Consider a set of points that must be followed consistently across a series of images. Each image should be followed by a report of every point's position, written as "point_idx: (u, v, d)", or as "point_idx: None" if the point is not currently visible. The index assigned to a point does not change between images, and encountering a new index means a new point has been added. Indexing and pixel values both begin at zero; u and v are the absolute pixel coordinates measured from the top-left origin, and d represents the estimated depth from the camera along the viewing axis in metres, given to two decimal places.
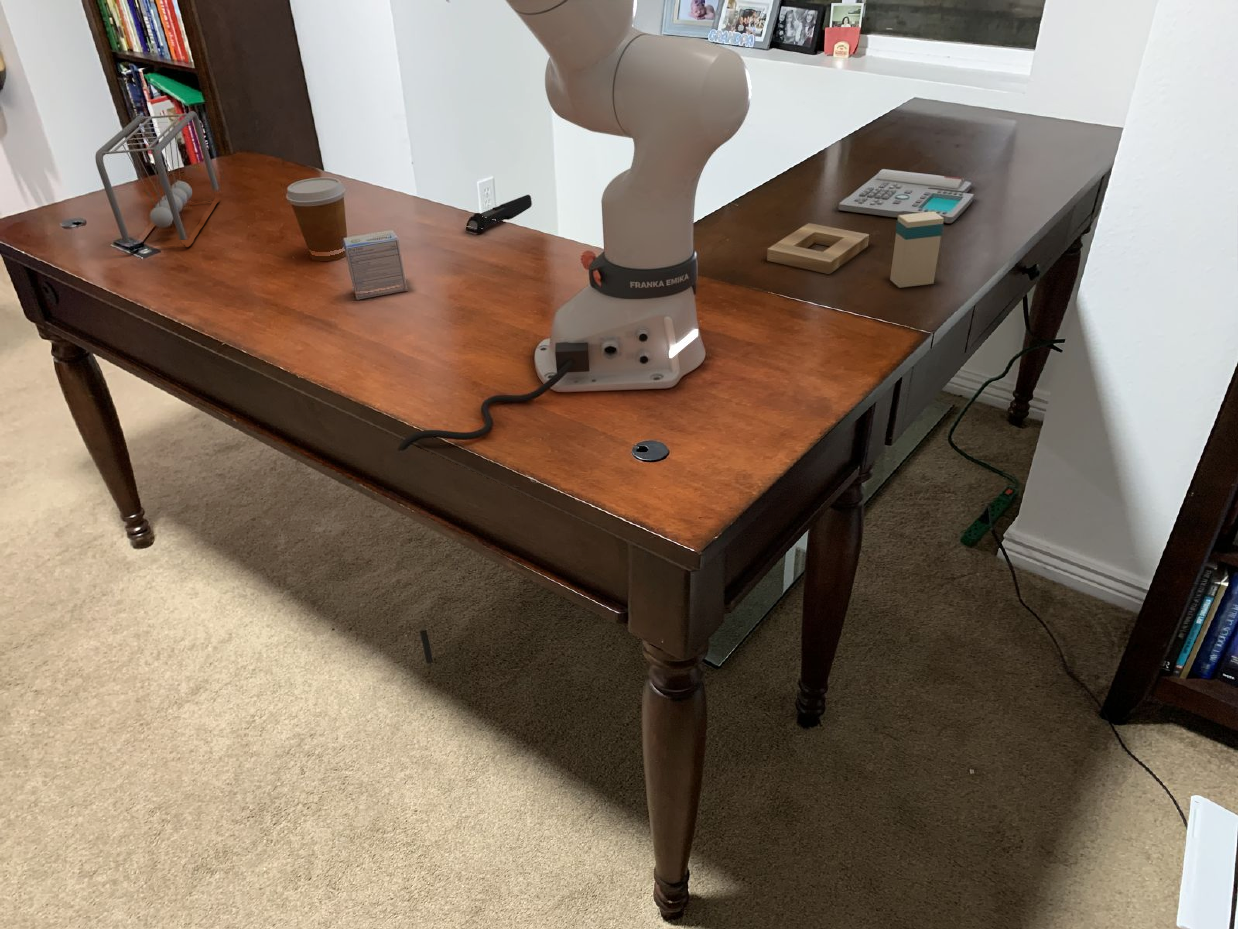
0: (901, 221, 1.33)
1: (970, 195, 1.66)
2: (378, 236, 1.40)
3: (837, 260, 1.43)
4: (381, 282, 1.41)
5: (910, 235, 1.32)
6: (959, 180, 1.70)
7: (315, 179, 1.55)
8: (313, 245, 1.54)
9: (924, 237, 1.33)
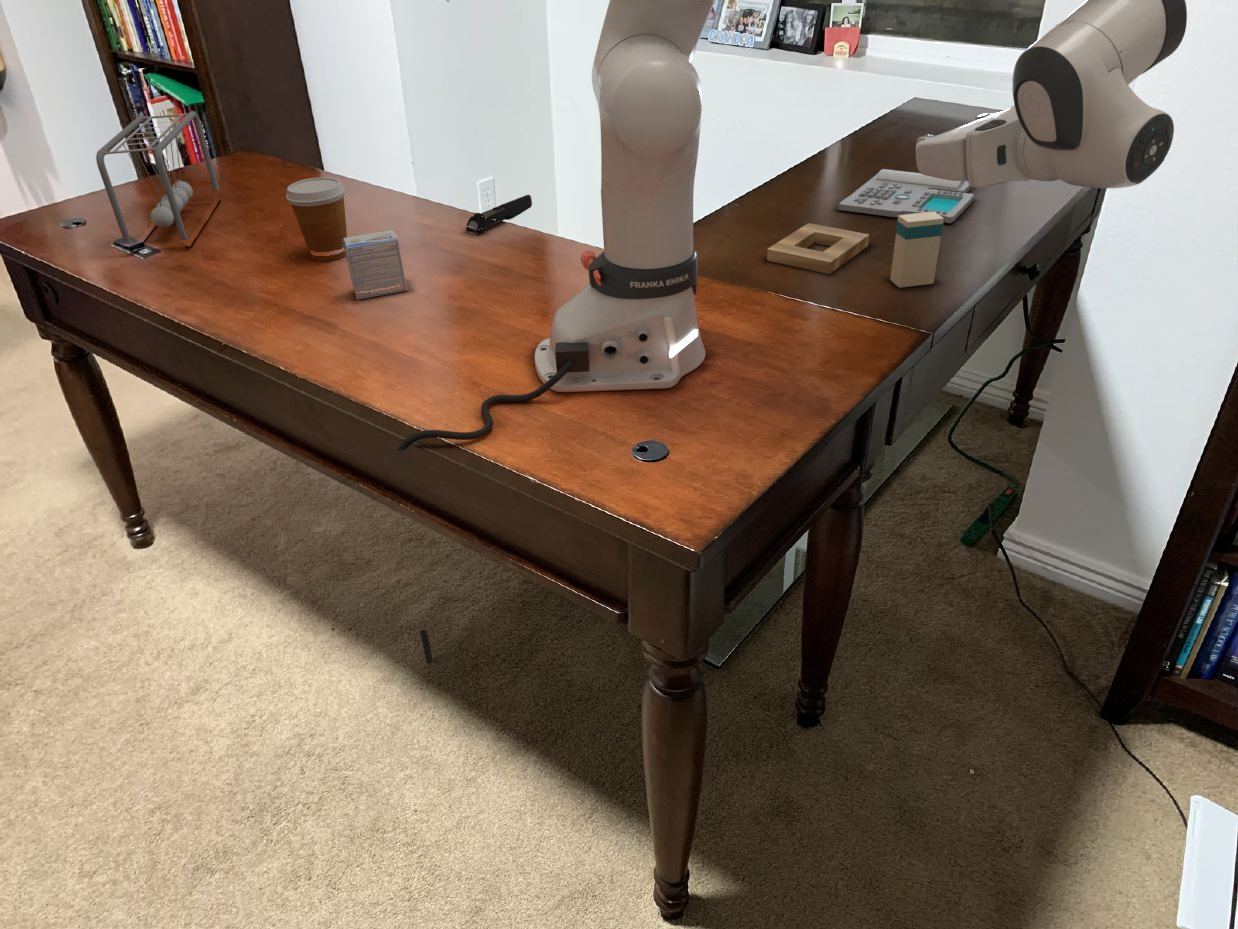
0: (901, 221, 1.33)
1: (970, 195, 1.66)
2: (378, 236, 1.40)
3: (837, 260, 1.43)
4: (381, 282, 1.41)
5: (910, 235, 1.32)
6: None
7: (315, 179, 1.55)
8: (313, 245, 1.54)
9: (924, 237, 1.33)
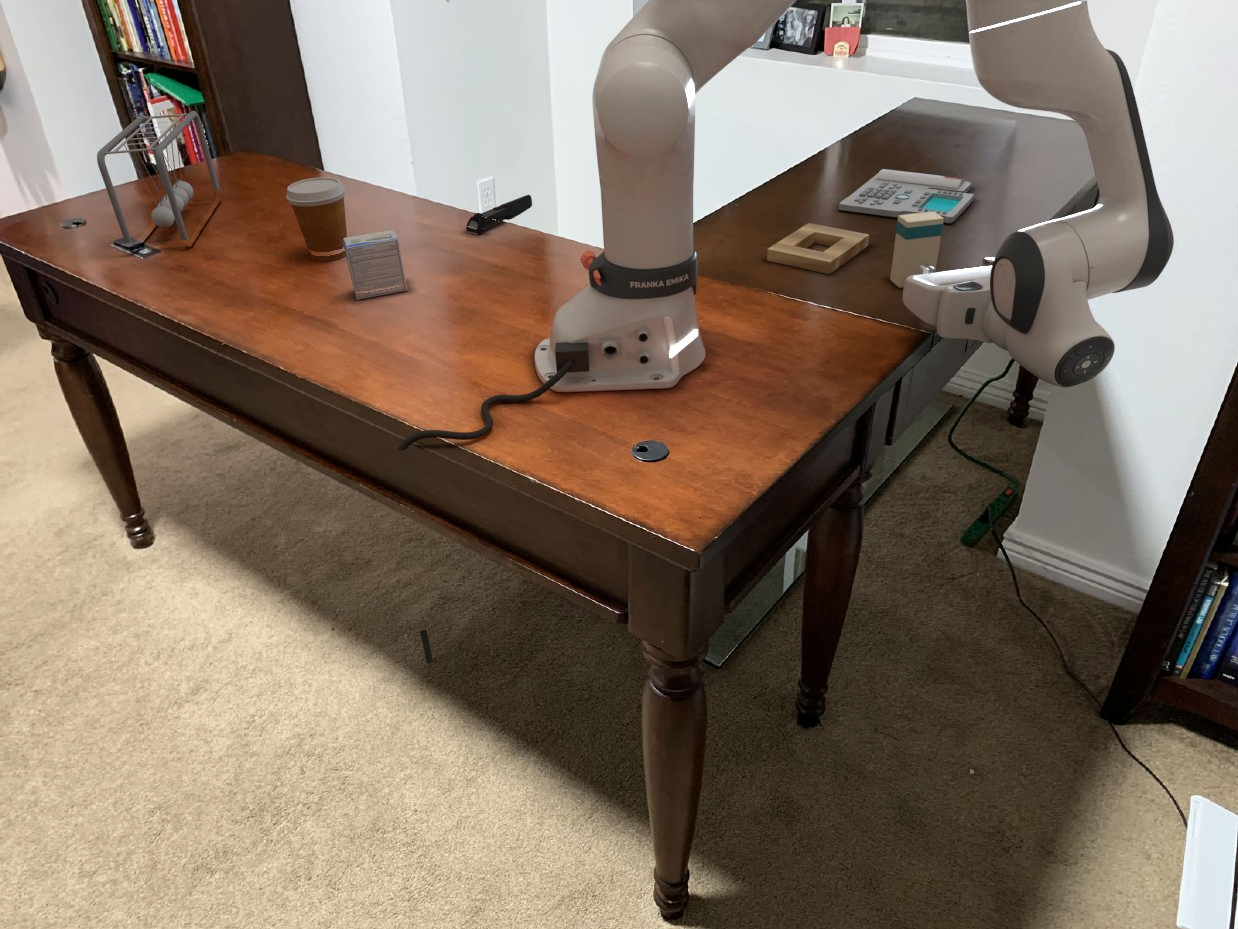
0: (901, 221, 1.33)
1: (970, 195, 1.66)
2: (378, 236, 1.40)
3: (837, 260, 1.43)
4: (381, 282, 1.41)
5: (910, 235, 1.32)
6: (959, 180, 1.70)
7: (315, 179, 1.55)
8: (313, 245, 1.54)
9: (924, 237, 1.33)
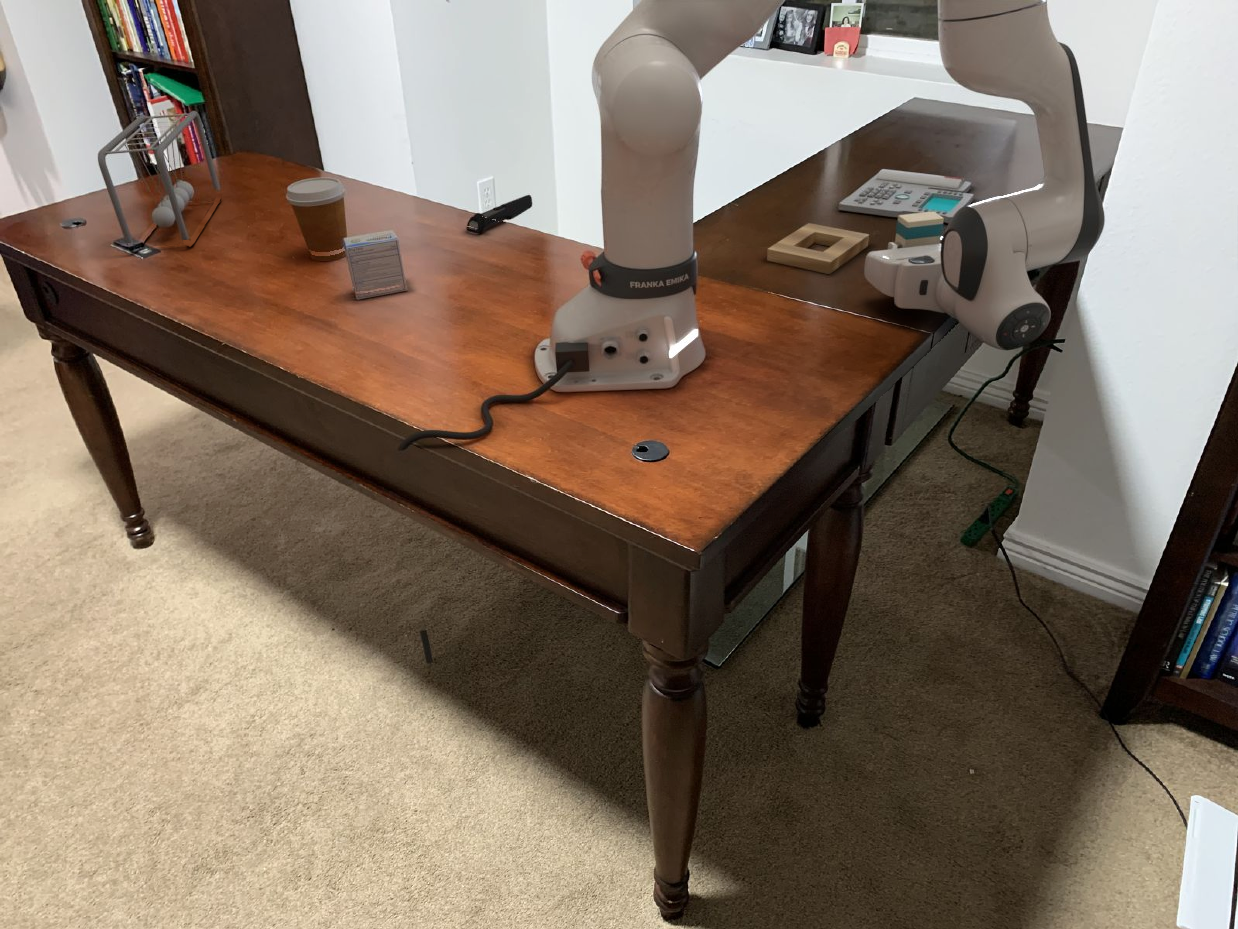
0: (901, 221, 1.33)
1: (970, 195, 1.66)
2: (378, 236, 1.40)
3: (837, 260, 1.43)
4: (381, 282, 1.41)
5: (910, 235, 1.32)
6: (959, 180, 1.70)
7: (315, 179, 1.55)
8: (313, 245, 1.54)
9: (924, 237, 1.33)
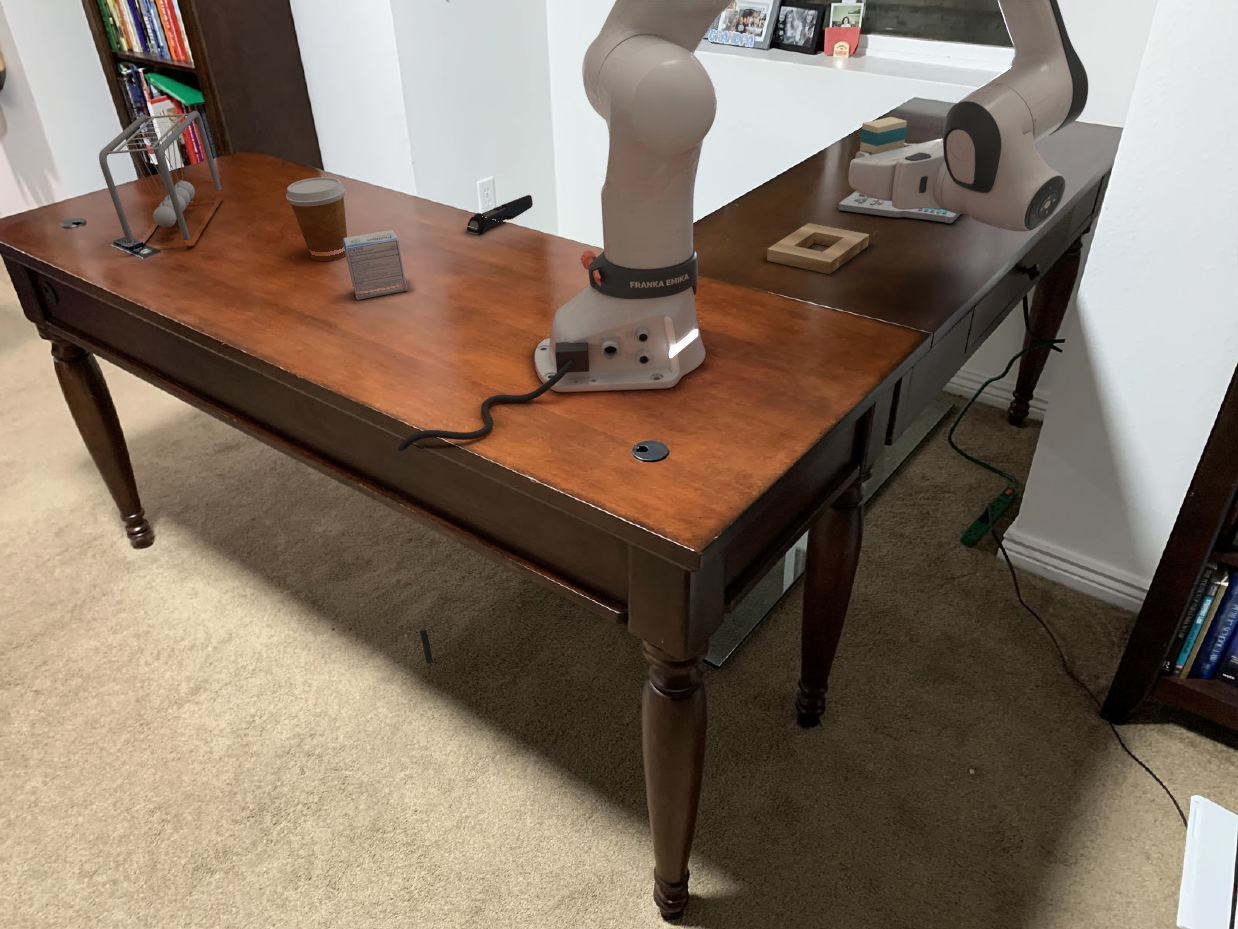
0: (868, 128, 1.31)
1: None
2: (378, 236, 1.40)
3: (837, 260, 1.43)
4: (381, 282, 1.41)
5: (879, 141, 1.30)
6: None
7: (315, 179, 1.55)
8: (313, 245, 1.54)
9: (891, 142, 1.31)
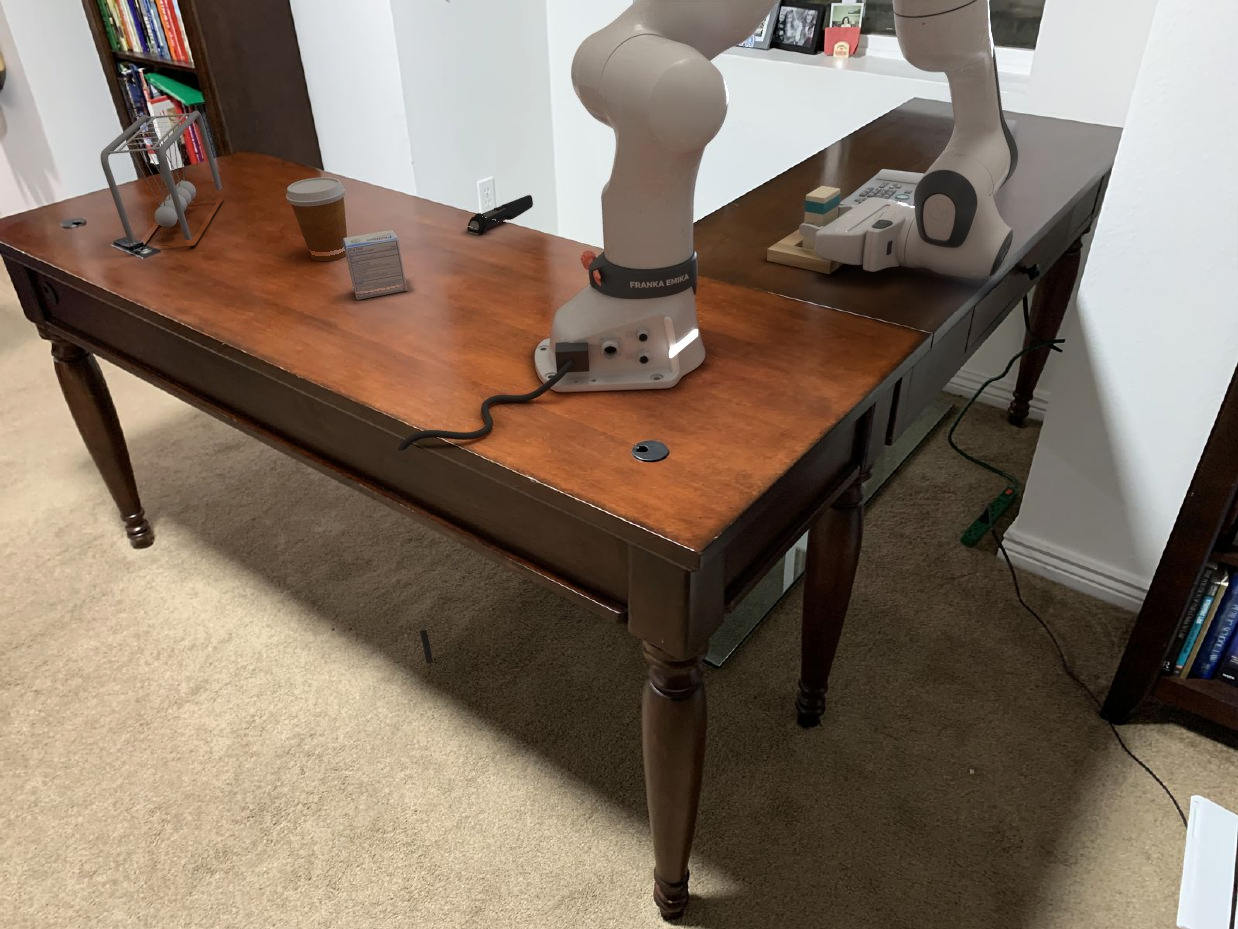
0: (813, 199, 1.43)
1: None
2: (378, 236, 1.40)
3: None
4: (381, 282, 1.41)
5: (825, 209, 1.43)
6: None
7: (315, 179, 1.55)
8: (313, 245, 1.54)
9: (831, 209, 1.45)
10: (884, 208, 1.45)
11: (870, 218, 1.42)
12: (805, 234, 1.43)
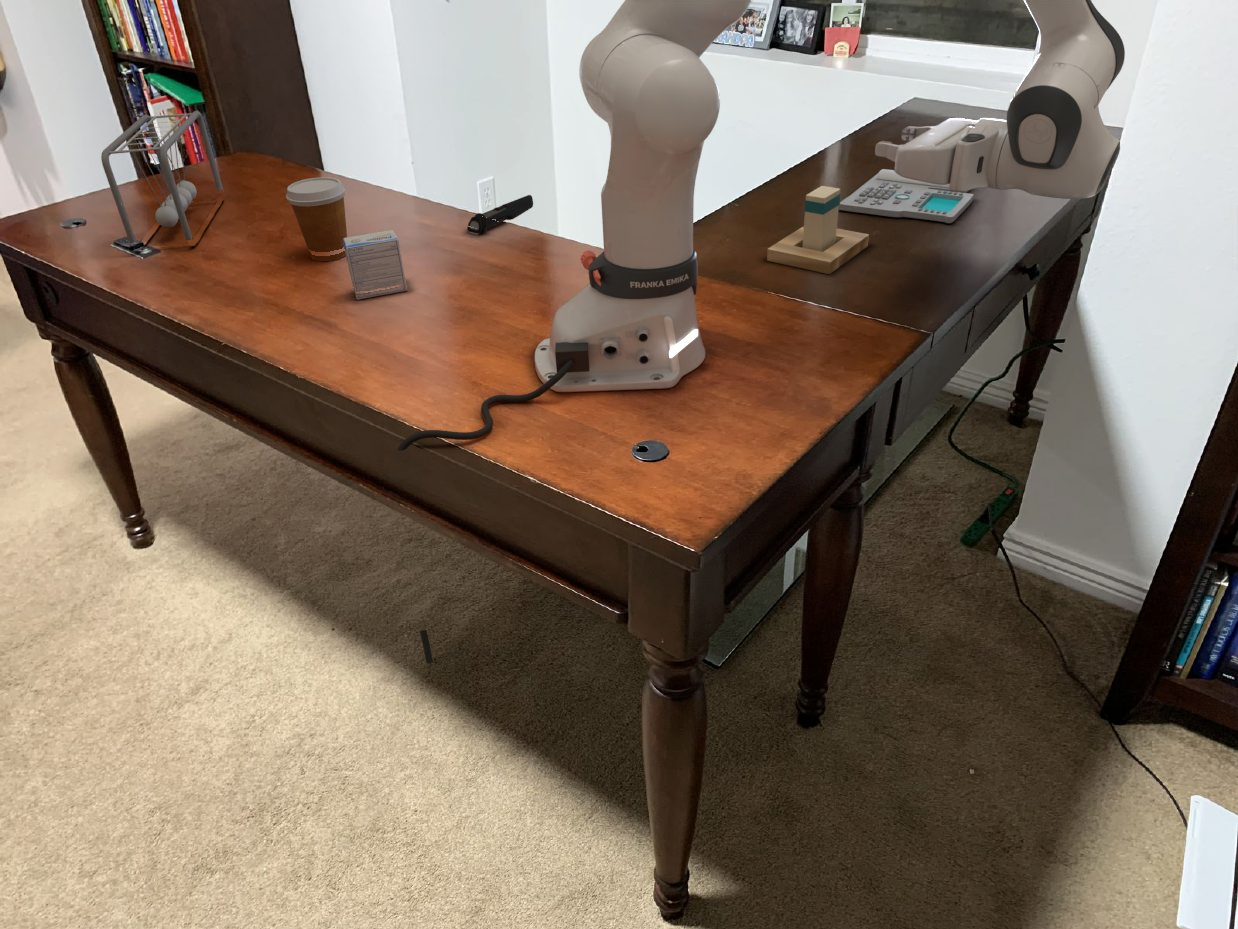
0: (813, 199, 1.43)
1: (970, 195, 1.66)
2: (378, 236, 1.40)
3: (837, 260, 1.43)
4: (381, 282, 1.41)
5: (825, 209, 1.43)
6: None
7: (315, 179, 1.55)
8: (313, 245, 1.54)
9: (831, 209, 1.45)
10: None
11: (954, 136, 1.28)
12: (882, 154, 1.30)
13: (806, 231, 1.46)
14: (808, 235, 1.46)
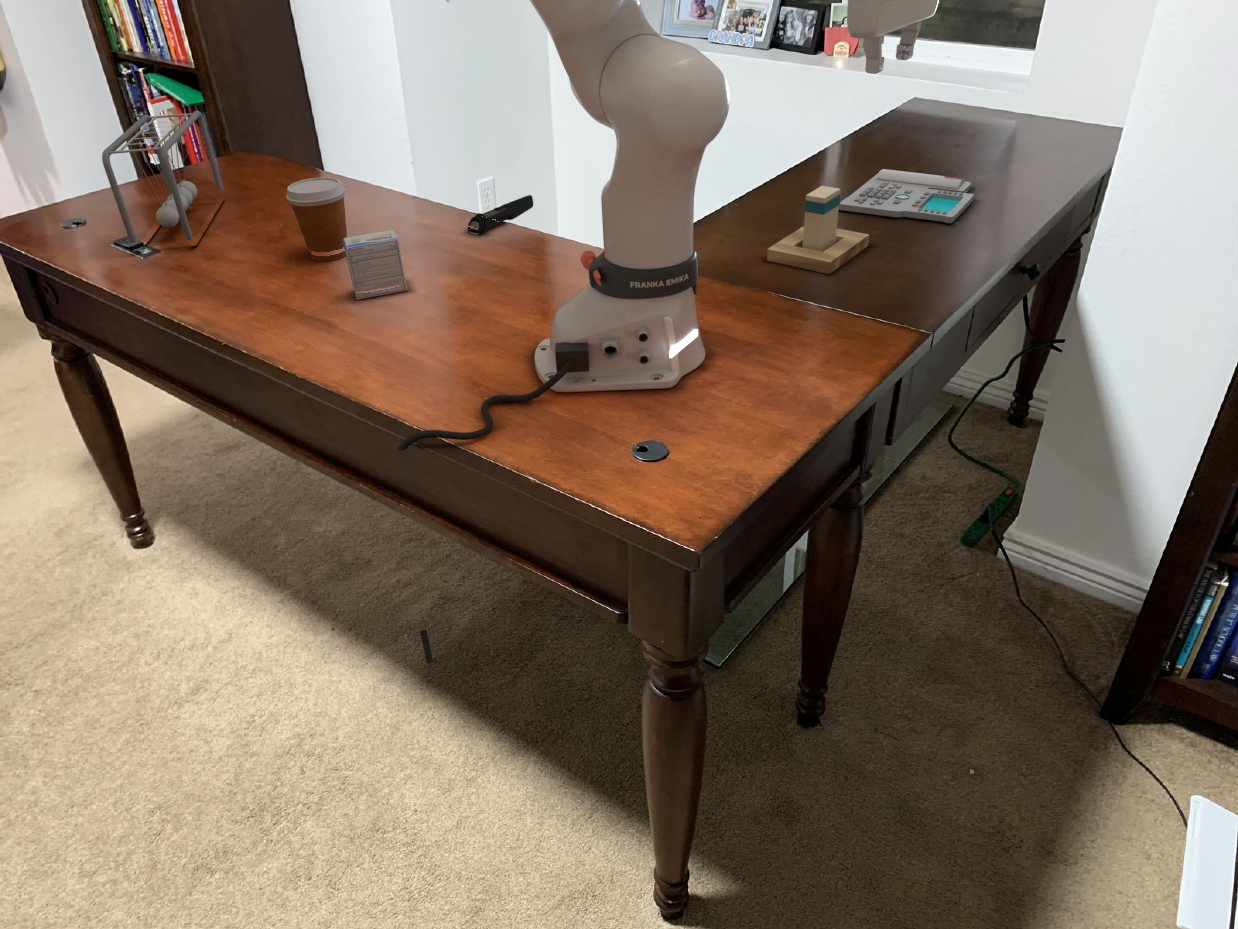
0: (813, 199, 1.43)
1: (970, 195, 1.66)
2: (378, 236, 1.40)
3: (837, 260, 1.43)
4: (381, 282, 1.41)
5: (825, 209, 1.43)
6: (959, 180, 1.70)
7: (315, 179, 1.55)
8: (313, 245, 1.54)
9: (831, 209, 1.45)
10: None
11: None
12: (877, 64, 1.15)
13: (806, 231, 1.46)
14: (808, 235, 1.46)
